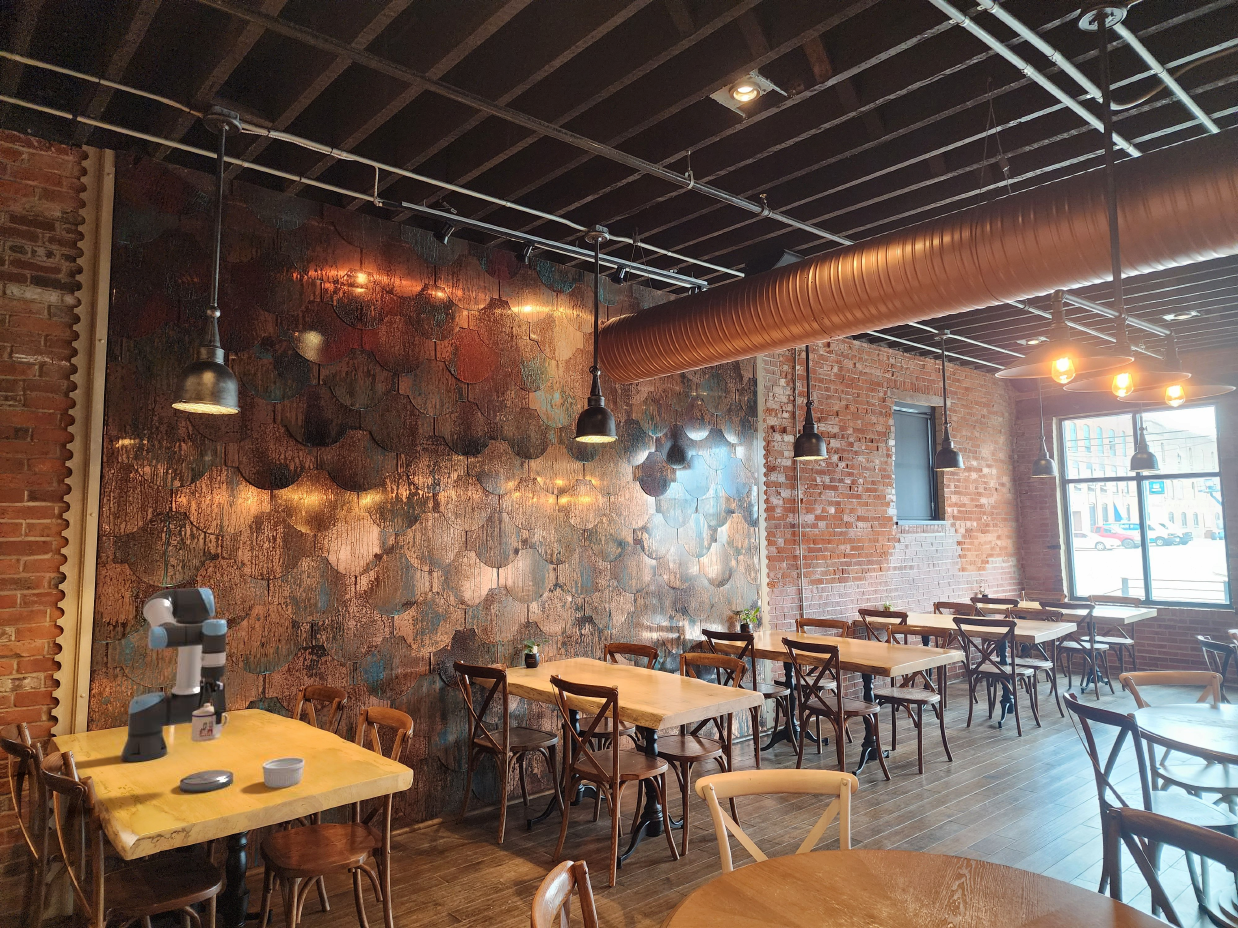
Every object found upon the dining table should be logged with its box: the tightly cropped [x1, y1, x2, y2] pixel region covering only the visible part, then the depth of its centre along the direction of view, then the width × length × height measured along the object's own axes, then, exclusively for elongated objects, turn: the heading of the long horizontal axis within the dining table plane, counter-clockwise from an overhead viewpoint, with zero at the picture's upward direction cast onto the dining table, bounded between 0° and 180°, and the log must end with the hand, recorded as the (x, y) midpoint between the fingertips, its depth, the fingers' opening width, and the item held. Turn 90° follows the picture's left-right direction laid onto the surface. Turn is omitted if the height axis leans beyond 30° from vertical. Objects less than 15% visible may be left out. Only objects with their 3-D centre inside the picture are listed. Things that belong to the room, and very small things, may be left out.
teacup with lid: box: [190, 703, 229, 743], centre depth 259 cm, size 12×9×12 cm
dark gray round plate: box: [179, 769, 234, 794], centre depth 257 cm, size 16×16×3 cm
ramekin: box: [262, 756, 306, 789], centre depth 259 cm, size 13×13×7 cm
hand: (210, 731), depth 259 cm, fingers closed on teacup with lid, 9 cm apart
